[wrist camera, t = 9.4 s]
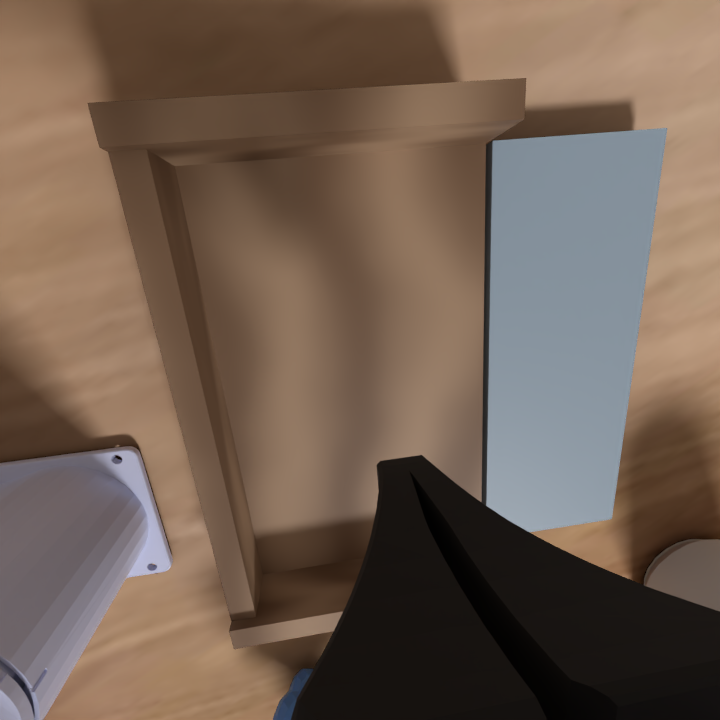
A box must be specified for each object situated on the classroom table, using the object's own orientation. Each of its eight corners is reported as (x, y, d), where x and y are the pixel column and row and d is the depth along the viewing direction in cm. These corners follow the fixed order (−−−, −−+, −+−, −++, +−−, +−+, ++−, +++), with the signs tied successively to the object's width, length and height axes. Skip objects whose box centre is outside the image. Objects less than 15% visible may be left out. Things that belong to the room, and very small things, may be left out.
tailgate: (485, 539, 22) (611, 519, 22) (492, 140, 15) (667, 127, 16) (480, 529, 22) (601, 510, 23) (484, 146, 16) (651, 133, 17)
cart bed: (250, 572, 22) (233, 649, 18) (151, 144, 15) (87, 102, 11) (470, 536, 23) (505, 600, 19) (471, 123, 16) (526, 78, 12)
